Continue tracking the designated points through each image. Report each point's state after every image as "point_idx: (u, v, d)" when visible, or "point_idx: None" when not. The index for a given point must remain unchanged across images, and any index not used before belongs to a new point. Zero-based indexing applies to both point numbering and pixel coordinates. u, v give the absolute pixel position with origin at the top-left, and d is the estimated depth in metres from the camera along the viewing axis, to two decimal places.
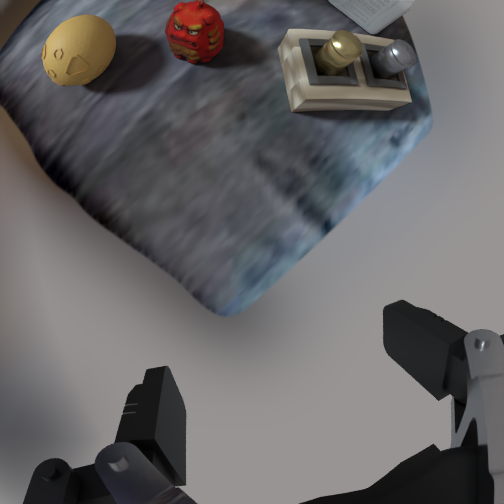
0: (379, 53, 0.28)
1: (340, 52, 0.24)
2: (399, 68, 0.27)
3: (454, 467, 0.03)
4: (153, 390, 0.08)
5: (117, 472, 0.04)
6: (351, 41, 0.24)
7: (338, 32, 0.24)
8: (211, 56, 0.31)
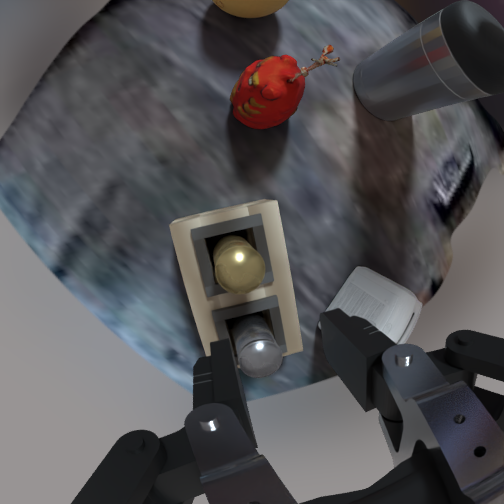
0: (260, 326, 0.27)
1: (220, 258, 0.22)
2: (237, 353, 0.25)
3: (418, 496, 0.03)
4: (224, 358, 0.09)
5: (214, 430, 0.06)
6: (246, 276, 0.22)
7: (257, 255, 0.22)
8: (236, 116, 0.29)
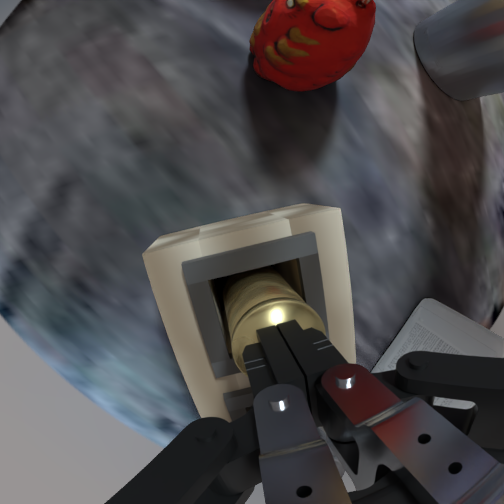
0: None
1: (242, 325, 0.11)
2: None
3: None
4: (276, 343, 0.09)
5: (288, 409, 0.06)
6: None
7: (314, 318, 0.11)
8: (261, 68, 0.16)
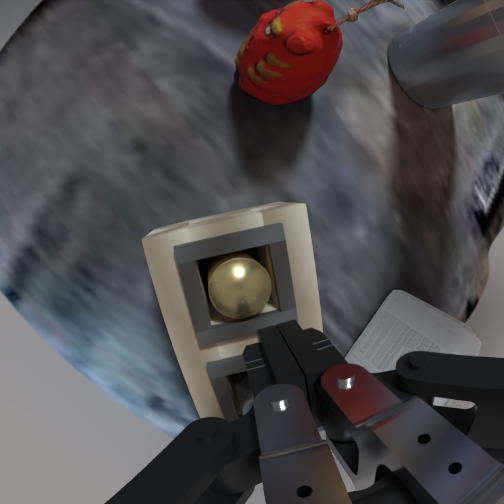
0: None
1: (215, 273, 0.17)
2: None
3: None
4: (276, 343, 0.09)
5: (289, 409, 0.06)
6: (248, 296, 0.17)
7: (262, 271, 0.17)
8: (244, 85, 0.20)
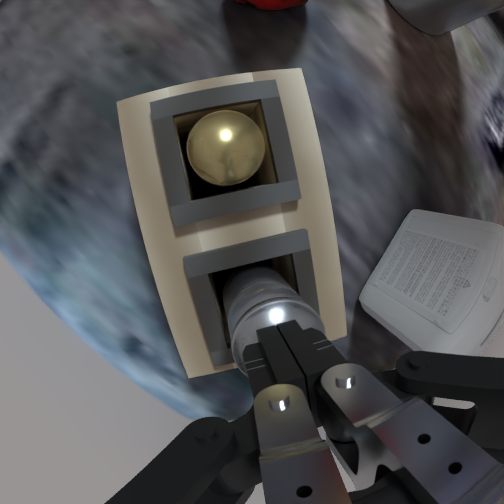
0: (275, 279, 0.14)
1: (195, 127, 0.13)
2: (229, 332, 0.12)
3: None
4: (276, 343, 0.09)
5: (288, 409, 0.06)
6: (236, 156, 0.14)
7: (252, 126, 0.13)
8: None
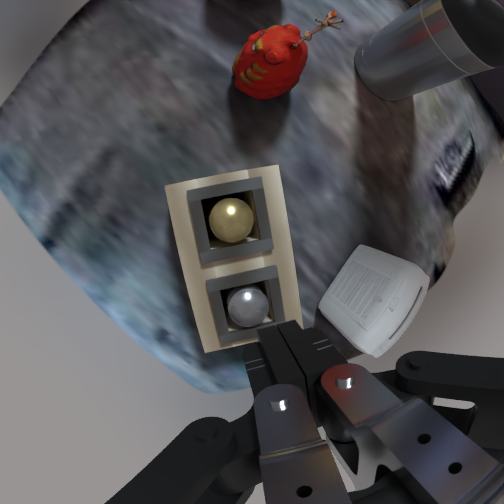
0: None
1: (214, 208, 0.24)
2: (227, 303, 0.28)
3: None
4: (276, 343, 0.09)
5: (288, 409, 0.06)
6: (237, 225, 0.25)
7: (247, 208, 0.25)
8: (238, 85, 0.27)
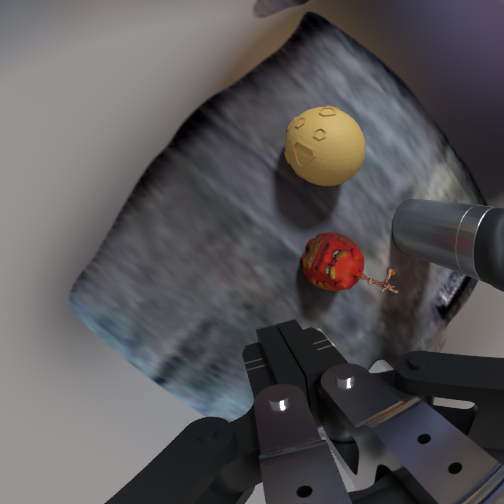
0: None
1: None
2: None
3: None
4: (276, 343, 0.09)
5: (289, 409, 0.06)
6: None
7: None
8: (307, 277, 0.40)
